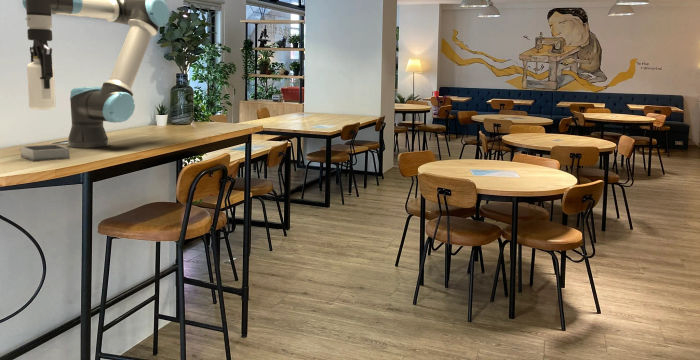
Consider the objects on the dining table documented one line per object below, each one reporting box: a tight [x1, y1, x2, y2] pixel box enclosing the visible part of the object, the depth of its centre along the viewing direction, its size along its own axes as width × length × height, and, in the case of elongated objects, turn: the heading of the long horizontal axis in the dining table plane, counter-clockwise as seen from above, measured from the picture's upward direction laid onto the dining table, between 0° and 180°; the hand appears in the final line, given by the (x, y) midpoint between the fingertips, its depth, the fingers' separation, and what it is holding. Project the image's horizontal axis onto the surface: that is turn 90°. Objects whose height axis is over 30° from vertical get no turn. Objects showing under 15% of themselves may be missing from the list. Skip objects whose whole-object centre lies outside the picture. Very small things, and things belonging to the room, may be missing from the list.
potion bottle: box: [26, 56, 56, 111], centre depth 218 cm, size 8×8×18 cm
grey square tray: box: [20, 144, 71, 162], centre depth 222 cm, size 12×12×4 cm
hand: (43, 97), depth 218 cm, fingers open, 5 cm apart
